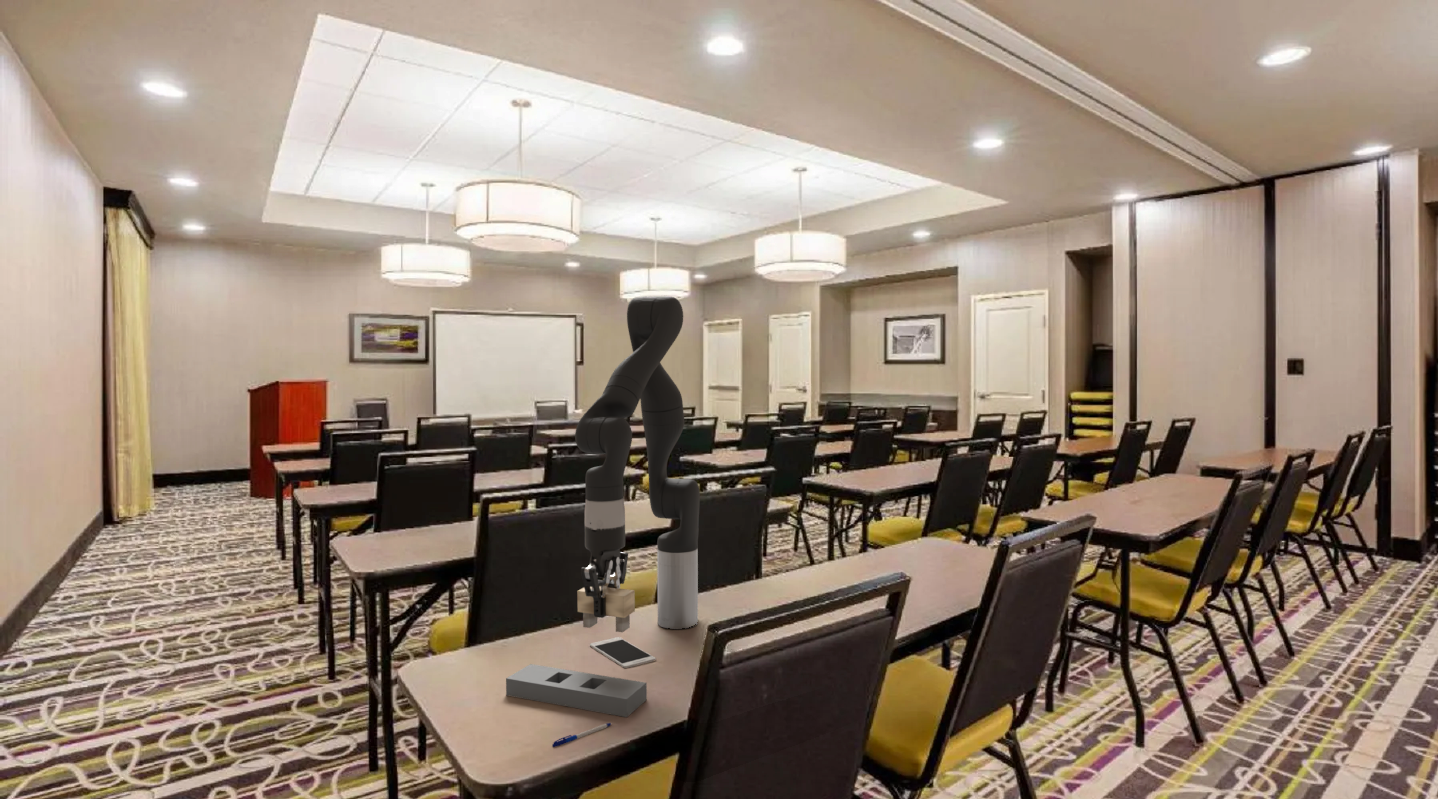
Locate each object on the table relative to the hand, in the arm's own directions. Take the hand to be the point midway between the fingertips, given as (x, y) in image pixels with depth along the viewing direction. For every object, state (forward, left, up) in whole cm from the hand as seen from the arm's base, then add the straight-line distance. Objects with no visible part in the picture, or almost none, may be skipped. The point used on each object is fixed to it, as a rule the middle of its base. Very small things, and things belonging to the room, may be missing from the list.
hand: (606, 612), depth 138 cm
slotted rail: (+11, 0, -12) cm, 16 cm away
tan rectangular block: (0, 0, -3) cm, 3 cm away
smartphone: (-11, -3, -12) cm, 17 cm away
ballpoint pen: (+22, +9, -12) cm, 27 cm away
